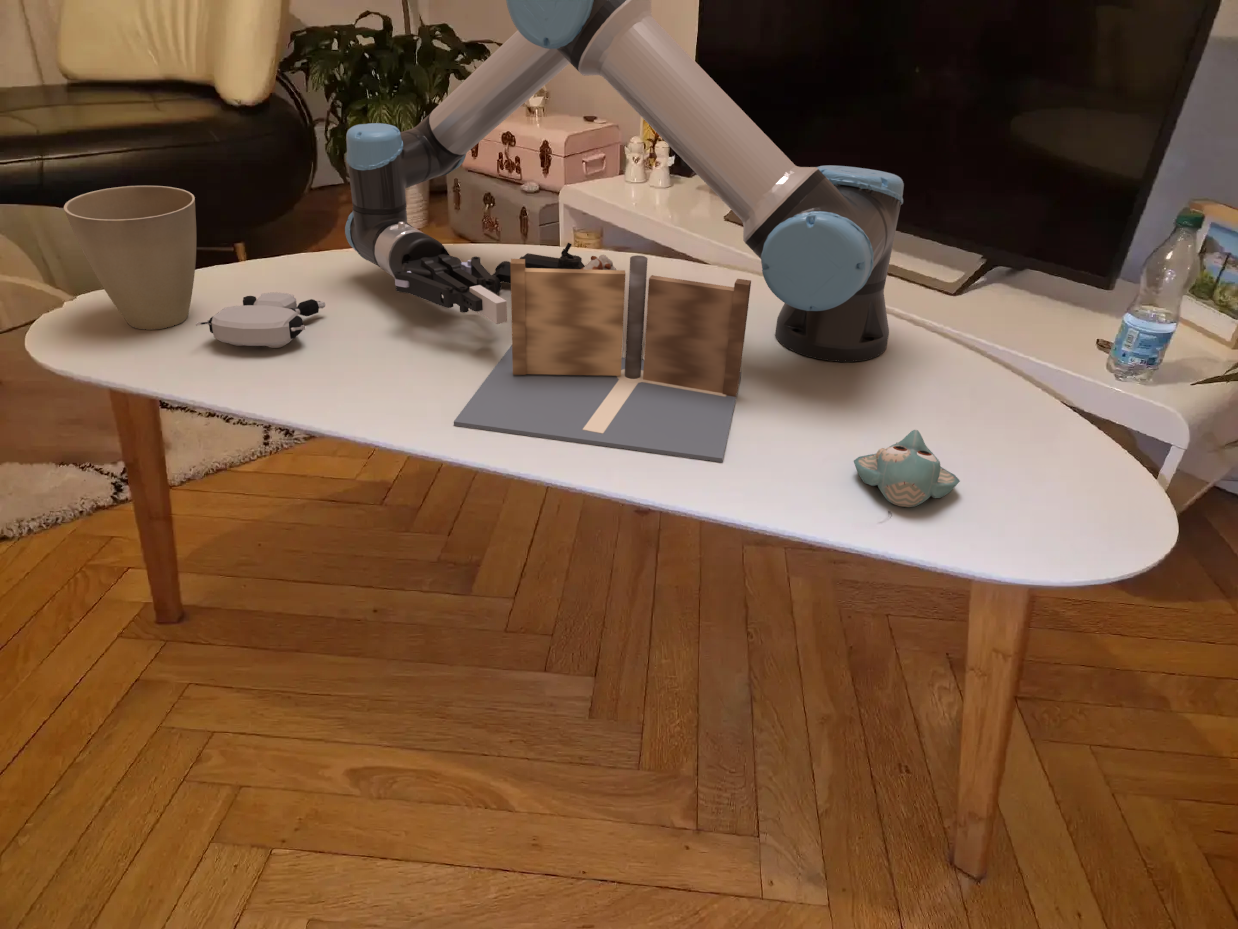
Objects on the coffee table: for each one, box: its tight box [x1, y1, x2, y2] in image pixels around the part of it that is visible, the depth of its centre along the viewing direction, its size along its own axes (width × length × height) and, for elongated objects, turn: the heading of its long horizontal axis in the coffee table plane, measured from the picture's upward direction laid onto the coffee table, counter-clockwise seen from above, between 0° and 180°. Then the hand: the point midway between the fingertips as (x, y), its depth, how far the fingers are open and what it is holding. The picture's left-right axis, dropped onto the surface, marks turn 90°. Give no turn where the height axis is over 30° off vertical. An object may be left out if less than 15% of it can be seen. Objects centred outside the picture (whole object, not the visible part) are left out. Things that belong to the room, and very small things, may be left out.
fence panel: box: [510, 258, 626, 376], centre depth 111 cm, size 13×2×14 cm, turn 93°
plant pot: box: [63, 185, 197, 331], centre depth 121 cm, size 15×15×16 cm
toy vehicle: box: [491, 242, 586, 295], centre depth 138 cm, size 8×15×9 cm, turn 76°
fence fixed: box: [624, 255, 752, 398], centre depth 110 cm, size 14×2×16 cm, turn 73°
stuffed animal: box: [853, 429, 961, 508], centre depth 95 cm, size 11×7×12 cm
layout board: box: [453, 344, 742, 463], centre depth 110 cm, size 30×22×1 cm
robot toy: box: [195, 291, 326, 349], centre depth 122 cm, size 12×4×15 cm
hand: (501, 312), depth 114 cm, fingers closed
